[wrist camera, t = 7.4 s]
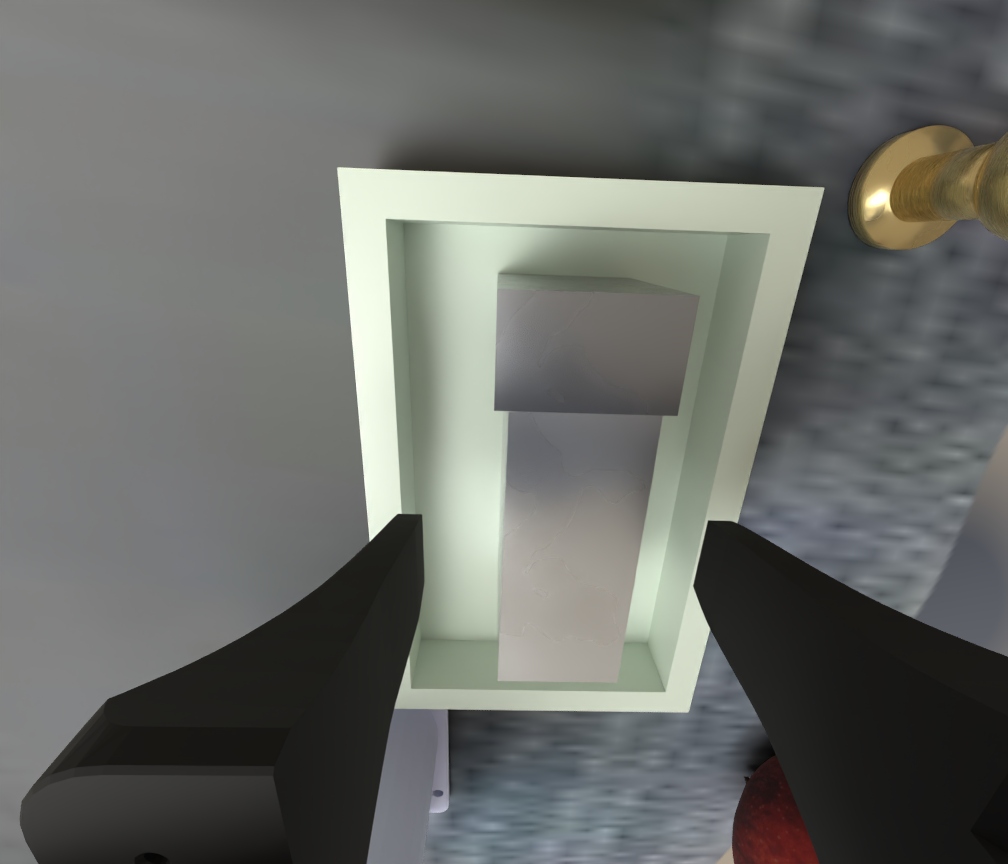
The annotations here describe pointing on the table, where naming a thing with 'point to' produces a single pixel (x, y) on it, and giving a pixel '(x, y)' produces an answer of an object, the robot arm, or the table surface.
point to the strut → (578, 461)
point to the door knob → (929, 188)
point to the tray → (478, 428)
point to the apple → (770, 821)
